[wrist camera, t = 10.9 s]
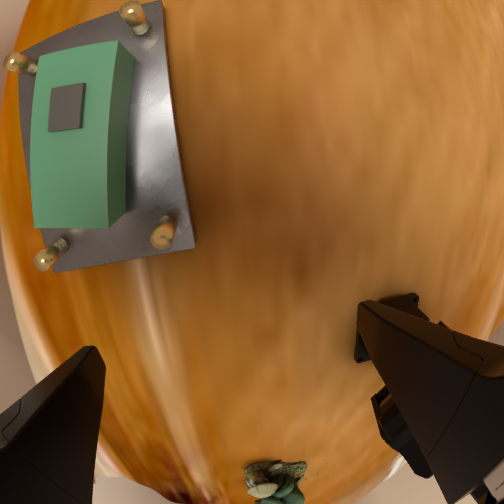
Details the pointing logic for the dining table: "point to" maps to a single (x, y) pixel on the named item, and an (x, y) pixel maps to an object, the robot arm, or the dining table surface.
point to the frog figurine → (276, 482)
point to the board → (80, 136)
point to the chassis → (137, 146)
